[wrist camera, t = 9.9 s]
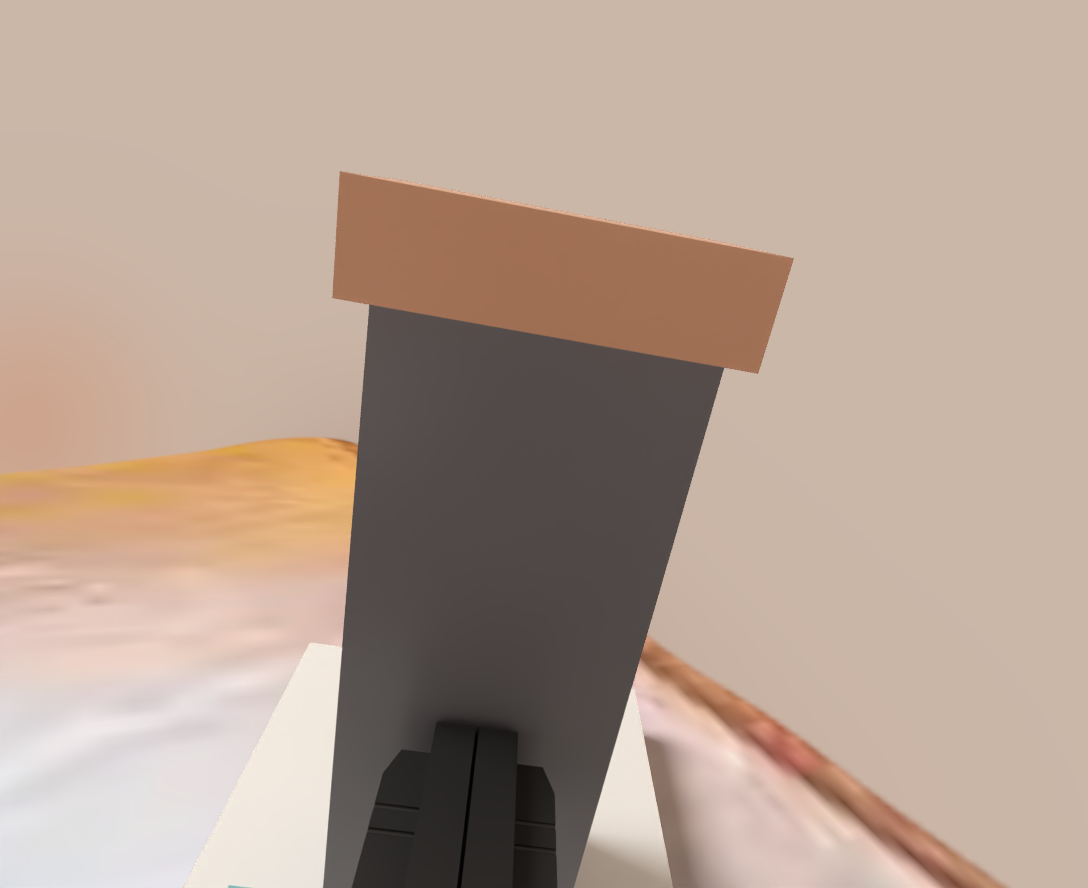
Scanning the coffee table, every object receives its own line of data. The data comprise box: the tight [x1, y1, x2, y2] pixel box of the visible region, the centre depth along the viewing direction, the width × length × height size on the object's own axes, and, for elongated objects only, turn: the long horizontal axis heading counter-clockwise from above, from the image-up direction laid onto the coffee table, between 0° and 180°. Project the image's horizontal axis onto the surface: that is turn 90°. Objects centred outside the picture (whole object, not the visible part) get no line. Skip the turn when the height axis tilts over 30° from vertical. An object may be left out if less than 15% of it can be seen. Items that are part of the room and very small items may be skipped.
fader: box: [323, 171, 793, 888], centre depth 13 cm, size 6×4×16 cm, turn 90°
